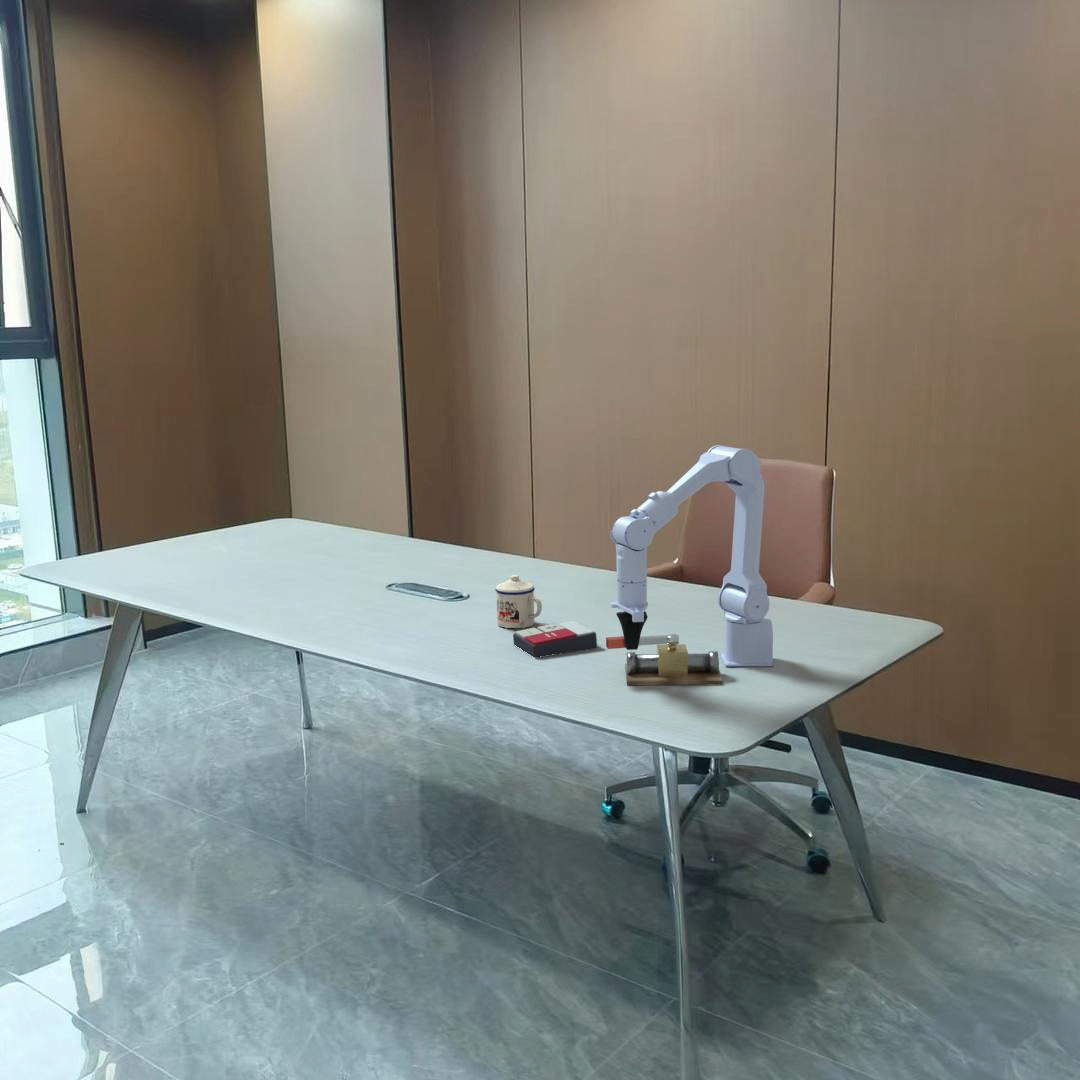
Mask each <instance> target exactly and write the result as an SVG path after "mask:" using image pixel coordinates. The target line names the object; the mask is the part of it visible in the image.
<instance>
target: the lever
mask: <svg viewBox="0 0 1080 1080" xmlns="http://www.w3.org/2000/svg"><path fill="white" fill-rule="evenodd" d="M605 642H606V643H605V646H606V648H607V649H608V650H614V649H626V646H625V641H624V635H623V636H609V637H605ZM679 643H680V636H679V634H675V633H669V634H668V633H667V634H661V635H647V636H646V635H645V636H640V640H639V646H653V645H668V644H669V645H676V644H679Z"/></svg>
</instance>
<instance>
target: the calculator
mask: <svg viewBox="0 0 1080 1080" xmlns="http://www.w3.org/2000/svg"><path fill="white" fill-rule="evenodd" d="M512 638H513V646H514V645H516V646H517V647H519V648H521V649H522V650H523V651H522V650H521V651H522V652H524V651H525V652H527V653H528V654H530V655H531V656H530V655H529V656H530V657H532V656H533V657H538V658H541V657H540V656H545V657H547V656H546V655H551V656H553V655H552V654H557V655H561V654H560V653H562V654H567V653H572V652H575V651H579V650H582V651H586V649H588V650H593V649H597V648H598V643H597V642H598V641H597V640H598V639H597V632H596V631H594V630H592V629H590V628H588V627H586V626H584V625H582V624H580V623H578V622H576V621H574V620H569V621H565V622H559V623H550V624H546V625H545V624H544V625H540V626H537V628H536V627H531V628H530V627H529V628H524V629H520V630H516V631H515V633H513V635H512ZM516 646H515V647H516ZM517 647H516V648H517ZM519 648H518V649H519ZM525 652H524V653H525ZM566 652H567V653H566ZM527 653H526V654H527ZM528 654H527V655H528ZM533 657H532V658H533Z"/></svg>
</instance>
